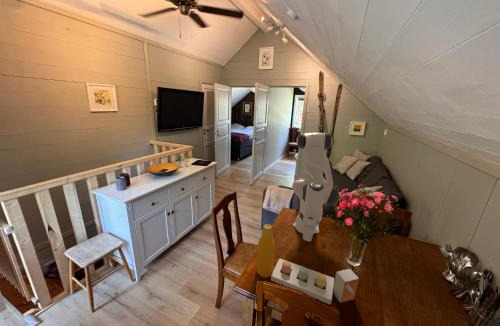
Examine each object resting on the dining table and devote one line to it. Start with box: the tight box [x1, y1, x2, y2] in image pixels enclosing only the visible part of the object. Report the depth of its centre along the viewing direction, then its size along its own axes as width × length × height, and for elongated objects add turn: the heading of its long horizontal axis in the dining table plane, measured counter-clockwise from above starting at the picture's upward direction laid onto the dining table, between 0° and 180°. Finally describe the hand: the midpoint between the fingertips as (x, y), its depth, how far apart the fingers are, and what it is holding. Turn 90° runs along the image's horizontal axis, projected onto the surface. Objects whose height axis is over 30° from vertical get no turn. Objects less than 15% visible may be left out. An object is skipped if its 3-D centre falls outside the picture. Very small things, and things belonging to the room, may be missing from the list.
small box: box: [332, 268, 360, 304], centre depth 101 cm, size 8×6×13 cm
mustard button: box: [315, 273, 326, 289], centre depth 105 cm, size 5×5×4 cm
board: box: [270, 258, 335, 306], centre depth 110 cm, size 14×30×3 cm, turn 64°
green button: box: [297, 266, 308, 282], centre depth 109 cm, size 5×5×4 cm
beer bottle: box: [256, 223, 276, 279], centre depth 112 cm, size 9×9×29 cm
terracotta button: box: [281, 260, 291, 276], centre depth 113 cm, size 5×5×4 cm
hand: (309, 238), depth 108 cm, fingers closed
